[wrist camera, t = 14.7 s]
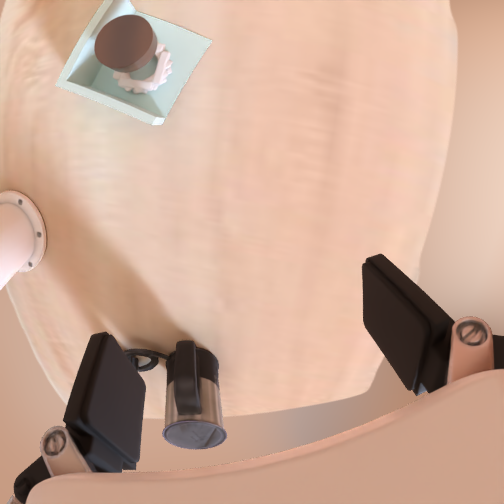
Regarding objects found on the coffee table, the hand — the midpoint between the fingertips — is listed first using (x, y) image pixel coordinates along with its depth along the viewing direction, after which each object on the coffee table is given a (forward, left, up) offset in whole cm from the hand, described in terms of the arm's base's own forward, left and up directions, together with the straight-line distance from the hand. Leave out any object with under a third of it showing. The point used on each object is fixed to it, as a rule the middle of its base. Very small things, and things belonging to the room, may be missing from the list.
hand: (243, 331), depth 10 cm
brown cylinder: (-10, +14, -21) cm, 27 cm away
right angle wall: (-10, +14, -28) cm, 33 cm away
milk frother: (-6, -31, -28) cm, 43 cm away
